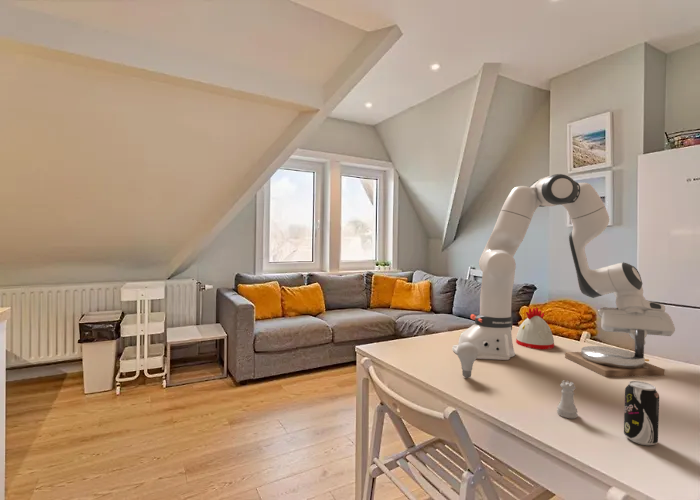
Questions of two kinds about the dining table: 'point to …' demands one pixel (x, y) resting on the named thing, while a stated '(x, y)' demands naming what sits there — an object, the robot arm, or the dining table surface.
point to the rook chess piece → (567, 401)
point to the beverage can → (641, 413)
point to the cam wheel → (618, 354)
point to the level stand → (615, 371)
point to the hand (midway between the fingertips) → (640, 343)
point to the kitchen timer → (535, 332)
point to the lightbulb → (467, 357)
